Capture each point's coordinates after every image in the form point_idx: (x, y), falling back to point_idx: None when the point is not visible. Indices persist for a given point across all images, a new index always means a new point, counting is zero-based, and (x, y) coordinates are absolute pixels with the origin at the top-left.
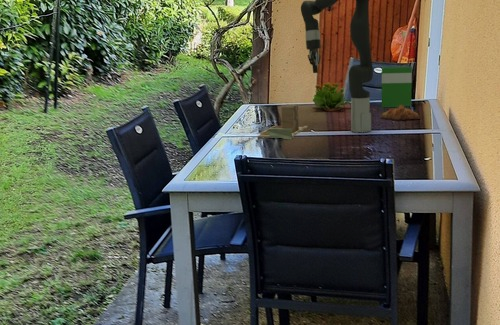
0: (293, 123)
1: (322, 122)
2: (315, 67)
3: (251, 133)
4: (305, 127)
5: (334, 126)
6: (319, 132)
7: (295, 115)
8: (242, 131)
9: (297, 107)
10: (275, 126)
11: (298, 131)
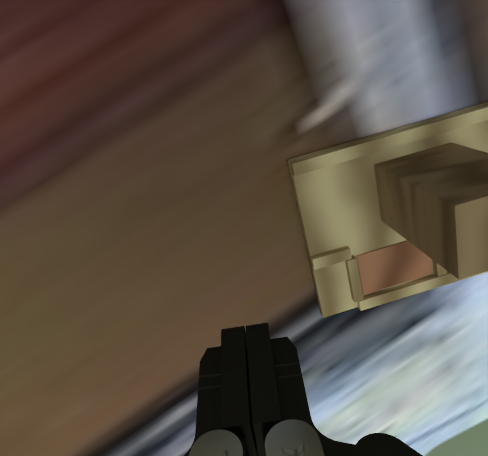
0: (481, 152)
1: (81, 193)
2: (300, 395)
3: (458, 326)
4: (336, 150)
5: (159, 53)
6: (354, 42)
7: (470, 172)
8: (429, 381)
9: (455, 197)
10: (363, 299)
11: (455, 116)
